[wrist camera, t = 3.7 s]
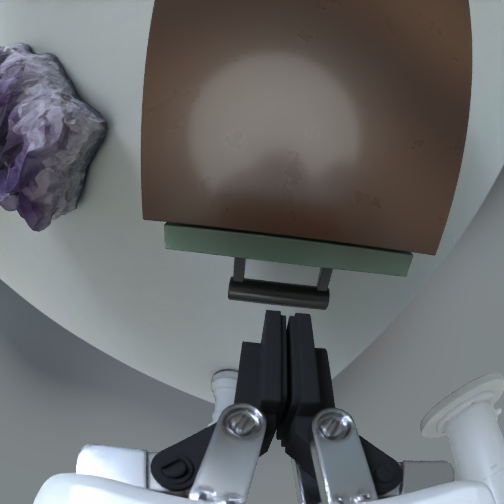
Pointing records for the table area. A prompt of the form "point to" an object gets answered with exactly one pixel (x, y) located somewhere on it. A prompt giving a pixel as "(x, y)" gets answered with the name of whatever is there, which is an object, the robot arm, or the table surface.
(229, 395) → the rook chess piece
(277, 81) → the cabinet
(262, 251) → the drawer
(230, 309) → the table surface
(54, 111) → the geode
